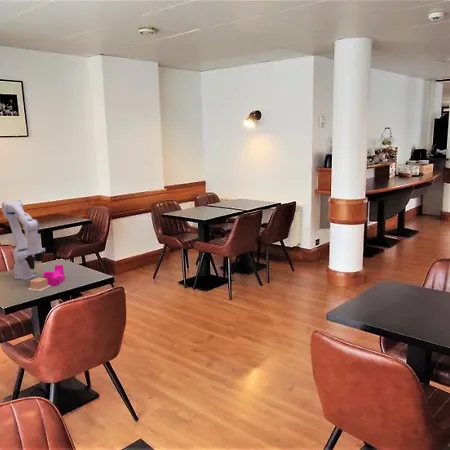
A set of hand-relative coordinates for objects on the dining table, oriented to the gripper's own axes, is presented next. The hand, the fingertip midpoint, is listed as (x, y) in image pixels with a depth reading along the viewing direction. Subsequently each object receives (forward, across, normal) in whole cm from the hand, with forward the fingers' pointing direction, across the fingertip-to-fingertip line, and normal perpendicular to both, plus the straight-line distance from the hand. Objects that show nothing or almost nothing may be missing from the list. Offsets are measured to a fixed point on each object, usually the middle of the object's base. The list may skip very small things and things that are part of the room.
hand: (35, 267), depth 245 cm
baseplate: (+8, -7, -8) cm, 14 cm away
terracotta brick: (+8, -7, -8) cm, 13 cm away
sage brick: (+2, 0, 0) cm, 2 cm away
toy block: (+9, +5, -9) cm, 14 cm away
